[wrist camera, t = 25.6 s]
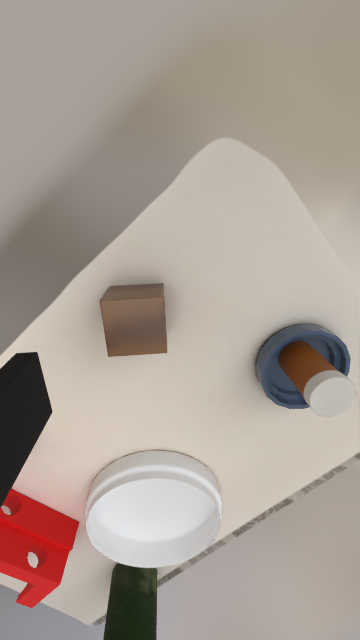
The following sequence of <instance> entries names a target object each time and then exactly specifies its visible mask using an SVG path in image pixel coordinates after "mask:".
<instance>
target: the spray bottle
mask: <svg viewBox="0 0 360 640" xmlns="http://www.w3.org/2000/svg"><path fill="white" fill-rule="evenodd" d="M156 619H157V570H156V568H142V567H133V566H128V565H125V564H121V563H120V564H118V565H117V566H116V567H115V568H114V570H113V572H112V580H111V587H110V594H109V602H108V609H107V616H106V624H105V632H104V640H156Z"/></svg>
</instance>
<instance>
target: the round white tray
mask: <svg viewBox="0 0 360 640" xmlns="http://www.w3.org/2000/svg"><path fill="white" fill-rule="evenodd" d="M222 512H223V506H222V500H221V495H220V490H219V486H218V483H217V480H216V479H215V477H214V475H213V474H212V473H211V471H210V470H209V469H208V468H207V467H206V466H204V465H203V464H202V463H200V462H199V461H197V460H195V459H193V458H191V457H189V456H186V455H183V454H180V453H176V452H170V451H144V452H138V453H134V454H131V455H127V456H125V457H122V458H120V459H118V460H116V461H114V462H112V463H111V464H109V465H108V466H107V467H105V468H104V469H103V470H102V471H101V472H100V473H99V474H98V475H97V477H96V478H95V480H94V481H93V483H92V485H91V487H90V490H89V494H88V498H87V502H86V506H85V522H86V529H87V534H88V537H89V539H90V541H91V543H92V544H93V546H94V547H95V548H96V549H97V550H98V551H99V552H100V553H102V554H103V555H104V556H106V557H108V558H109V559H111V560H113V561H116V562H118V563H121V564H125V565H128V566H133V567H142V568H158V567H166V566H171V565H175V564H179V563H182V562H184V561H187V560H189V559H191V558H193V557H195V556H197V555H198V554H200V553H201V552H203V551H204V550H205V549H206V548H207V547H208V546H209V545H210V544H211V543H212V542H213V541H214V539H215V538H216V536H217V534H218V531H219V528H220V521H221V518H222Z"/></svg>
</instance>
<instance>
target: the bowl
mask: <svg viewBox="0 0 360 640" xmlns="http://www.w3.org/2000/svg"><path fill="white" fill-rule="evenodd" d="M295 341H304V342H307V343H308V344H310V345H311V346H312V347H313V348H314V349H315V350H316V351H317V352H318V353H320V354H321V355H322V356H323V357H324V358H325V359H326V360H327V361H328V362H329V363H331V364H332V365H333V366H334V367H335V368H336V369H337V370H338V371H339V372H341V373H342V374H344V375H345V376H346V377H347V375H348V373H349V368H350V356H349V353H348V350H347V346H346V345H345V344H344V343H343V342H342V341H341V340H340V339H339V338H338V337H337V336H336V335H335V334H333V333H332V332H330V331H329V330H328V329H325V328H323V327H320V326H318V325H315V324H298V325H295V326H291V327H288V328H285V329H283V330H281V331H280V332H278V333H277V334H275V335H274V336H272V337H271V338H270V339H269V340H268V341H267V343H266V344H265V345H264V346H263V348H262V349H261V350H260V353H259V356H258V359H257V361H256V377H257V379H258V381H259V383H260V385H261V387H262V389H263V390H264V392H265V394H266V396H267V397H268V398H269V399H271V400H272V401H273V402H274V403H276V404H277V405H280V406H283V407H286V408H289V409H304V408H308V407H310V406H309V405H308V404H307V402H306V401H305V399H304V397H303V396H302V395H301V393H300V392H299V391H298V389H297V388H296V387H295V385H294V384H293V383H292V381H291V380H290V379H289V377H288V376H287V375H286V373H285V372H284V371H283V369H282V368H281V367H280V365H279V360H278V359H279V354H280V352H281V350H282V349H283V348H284V347H285V346H286V345H288V344H289V343H292V342H295Z"/></svg>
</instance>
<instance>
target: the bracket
mask: <svg viewBox="0 0 360 640" xmlns="http://www.w3.org/2000/svg"><path fill="white" fill-rule="evenodd" d="M2 505H5V506H7V507H8V508H9V509H10V511H11V515H7V514H5V513H4V512H3V511H2V508H0V572H1V573H4V574H6V575H9V576H11V577H14V578H16V579H19V580H22V581H24V582H27V583H28V584H27V585H26V587H25V588H24V590H23V591H22V592H21V593H20V594H19V595H18V598H17V601H16V602H17V603H20V604H22V605H25V606H28V607H30V608H32V607H34V606H35V605H36V604H37V603H39V602H40V601H41V600H42V599H43V598H45V597H46V596H47V595H48V594H49V593H51V592H52V591H53V590H54V589H55V588H57V587H58V586H59V585H60V583H61V580H62V576H63V572H64V569H65V565H66V561H67V558H68V554H69V552H70V551H71V550H72V548H73V544H74V540H75V536H76V532H77V529H78V525H79V522H78V521H76V520H74V519H72V518H70V517H68V516H66V515H64V514H62V513H59V512H57V511H55V510H53V509H51V508H49V507H47V506H45V505H43V504H41V503H39V502H37V501H35V500H33V499H31V498H29V497H27V496H25V495H22V494H20V493H18V492H16V491H14V490H12V489H10V491H9V493H8V495H7V497H6V499H5V501H4V502H3V504H2ZM28 552H33V553H35V554H36V555H37V557H38V565H37V567H36V568H33V567H31V566H30V565H29V563H28V559H27V556H28Z"/></svg>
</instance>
